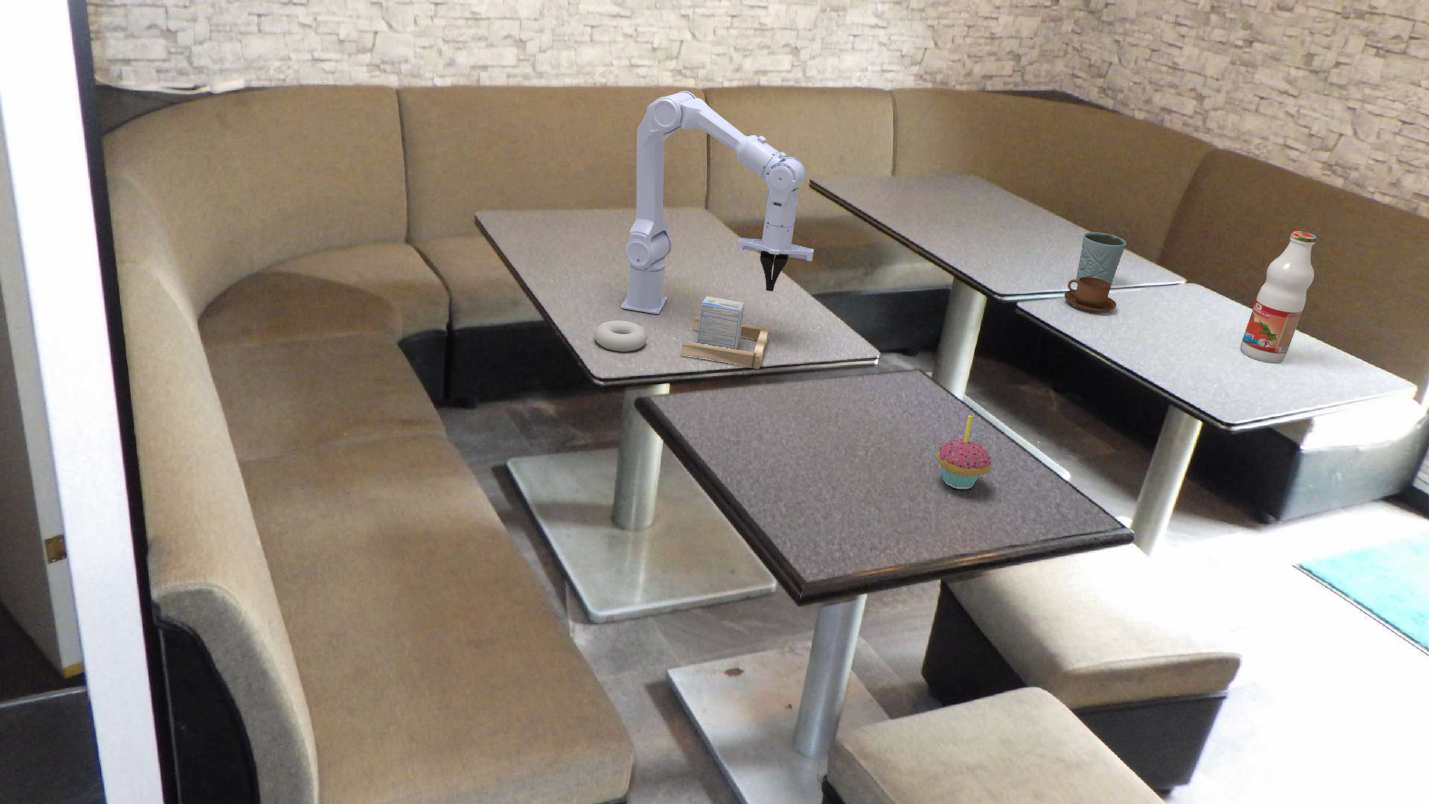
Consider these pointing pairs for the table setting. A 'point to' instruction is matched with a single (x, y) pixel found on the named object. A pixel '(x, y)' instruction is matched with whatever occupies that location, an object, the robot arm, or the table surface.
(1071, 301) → the cup and saucer
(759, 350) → the wooden u-shaped block
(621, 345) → the donut
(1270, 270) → the fruit juice
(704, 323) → the medicine box
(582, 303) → the table surface
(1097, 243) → the grey green embossed tumbler
